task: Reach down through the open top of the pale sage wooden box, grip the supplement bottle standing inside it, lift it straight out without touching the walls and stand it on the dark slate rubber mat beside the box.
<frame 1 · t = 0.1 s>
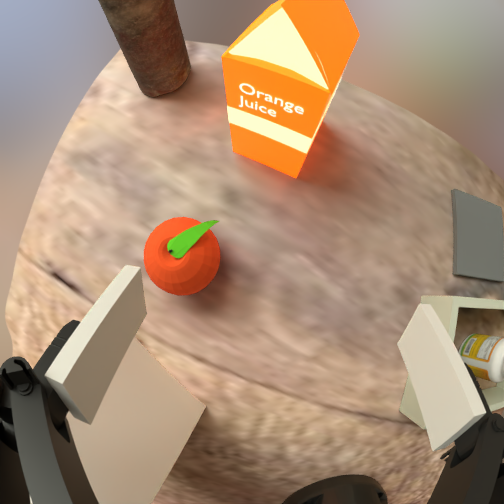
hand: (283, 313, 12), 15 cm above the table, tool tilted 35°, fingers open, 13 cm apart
orange juice: (280, 135, 30), on the table
supplement bottle: (468, 352, 27), resting in open box
brown rounded bar: (166, 79, 31), on the table
milk: (134, 399, 26), on the table
slate mat: (479, 237, 28), on the table
open box: (469, 352, 26), on the table
clementine: (194, 257, 28), on the table
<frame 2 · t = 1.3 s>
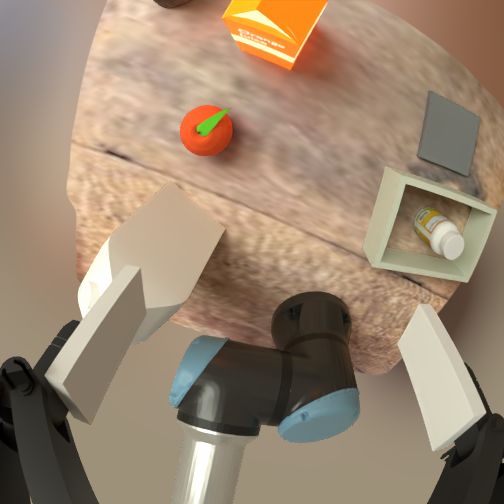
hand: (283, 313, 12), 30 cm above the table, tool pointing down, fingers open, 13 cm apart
orange juice: (278, 35, 29), on the table
supplement bottle: (425, 221, 40), resting in open box
milk: (175, 229, 45), on the table
slate mat: (449, 134, 33), on the table
open box: (426, 221, 40), on the table
clementine: (215, 126, 37), on the table
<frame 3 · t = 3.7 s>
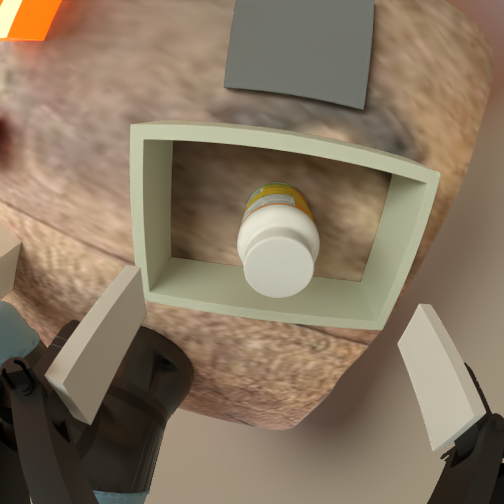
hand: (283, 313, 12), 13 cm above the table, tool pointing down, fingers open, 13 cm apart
orange juice: (41, 8, 14), on the table
supplement bottle: (277, 210, 24), resting in open box
slate mat: (302, 35, 17), on the table
open box: (277, 211, 24), on the table
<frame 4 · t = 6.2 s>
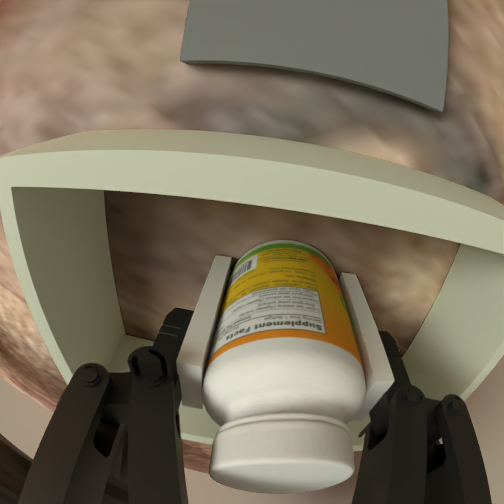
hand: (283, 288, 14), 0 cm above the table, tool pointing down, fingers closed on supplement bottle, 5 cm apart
supplement bottle: (283, 282, 14), resting in open box, touching gripper
open box: (282, 285, 14), on the table
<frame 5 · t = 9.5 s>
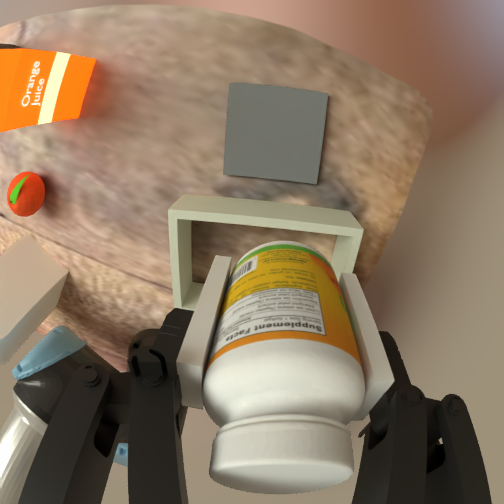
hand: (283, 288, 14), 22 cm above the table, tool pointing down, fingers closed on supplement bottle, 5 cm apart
orange juice: (69, 85, 27), on the table
supplement bottle: (283, 283, 14), point 21 cm above the table, touching gripper
brown rounded bar: (11, 63, 24), on the table
milk: (42, 271, 42), on the table
slate mat: (274, 132, 30), on the table
open box: (262, 251, 37), on the table
clementine: (41, 184, 34), on the table
when the fingers open (3 cm above the table, at t = 13.1 s): supplement bottle drops 1 cm, resting on slate mat.
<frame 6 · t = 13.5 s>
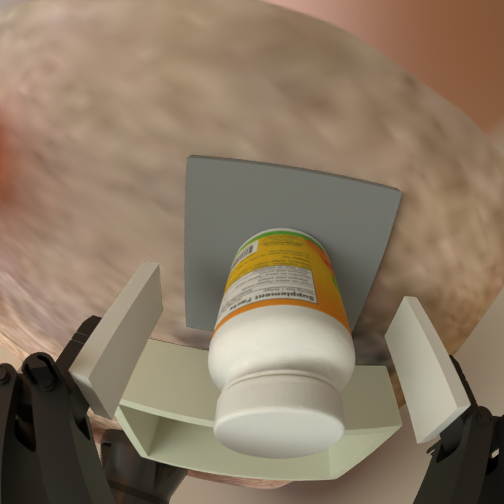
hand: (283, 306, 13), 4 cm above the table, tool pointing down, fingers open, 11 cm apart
supplement bottle: (281, 268, 16), point 1 cm above the table, touching slate mat
slate mat: (282, 262, 16), on the table
open box: (251, 403, 23), on the table
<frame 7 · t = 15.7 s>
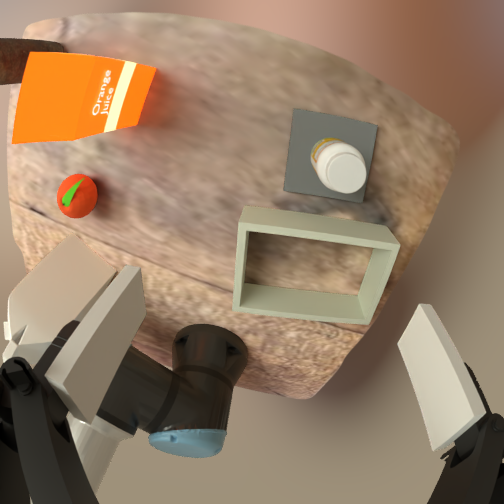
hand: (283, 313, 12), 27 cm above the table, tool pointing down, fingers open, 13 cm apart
orange juice: (125, 91, 32), on the table
supplement bottle: (330, 156, 34), point 1 cm above the table, touching slate mat
brown rounded bar: (53, 61, 28), on the table
milk: (85, 269, 48), on the table
slate mat: (330, 155, 34), on the table
open box: (310, 258, 42), on the table
clementine: (91, 186, 39), on the table
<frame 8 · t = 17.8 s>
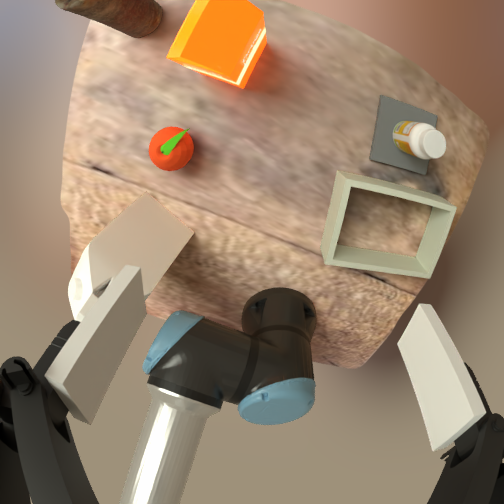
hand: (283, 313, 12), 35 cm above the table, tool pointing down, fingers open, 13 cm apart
orange juice: (233, 57, 35), on the table
supplement bottle: (405, 136, 37), point 1 cm above the table, touching slate mat
brown rounded bar: (145, 19, 31), on the table
milk: (153, 233, 50), on the table
slate mat: (404, 135, 38), on the table
open box: (383, 220, 45), on the table
clementine: (181, 143, 42), on the table
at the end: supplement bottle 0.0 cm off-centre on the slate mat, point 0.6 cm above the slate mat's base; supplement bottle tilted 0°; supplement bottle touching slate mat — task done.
